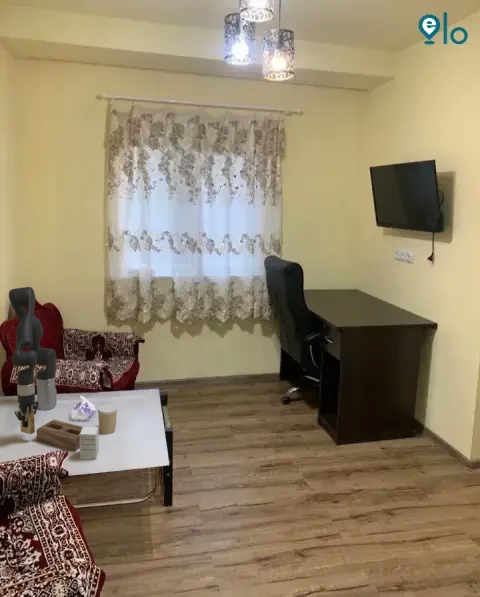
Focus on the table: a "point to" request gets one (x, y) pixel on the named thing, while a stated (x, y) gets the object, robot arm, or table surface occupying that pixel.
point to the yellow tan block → (29, 424)
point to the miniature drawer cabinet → (89, 443)
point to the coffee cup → (107, 419)
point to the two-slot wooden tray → (60, 435)
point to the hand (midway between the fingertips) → (27, 425)
